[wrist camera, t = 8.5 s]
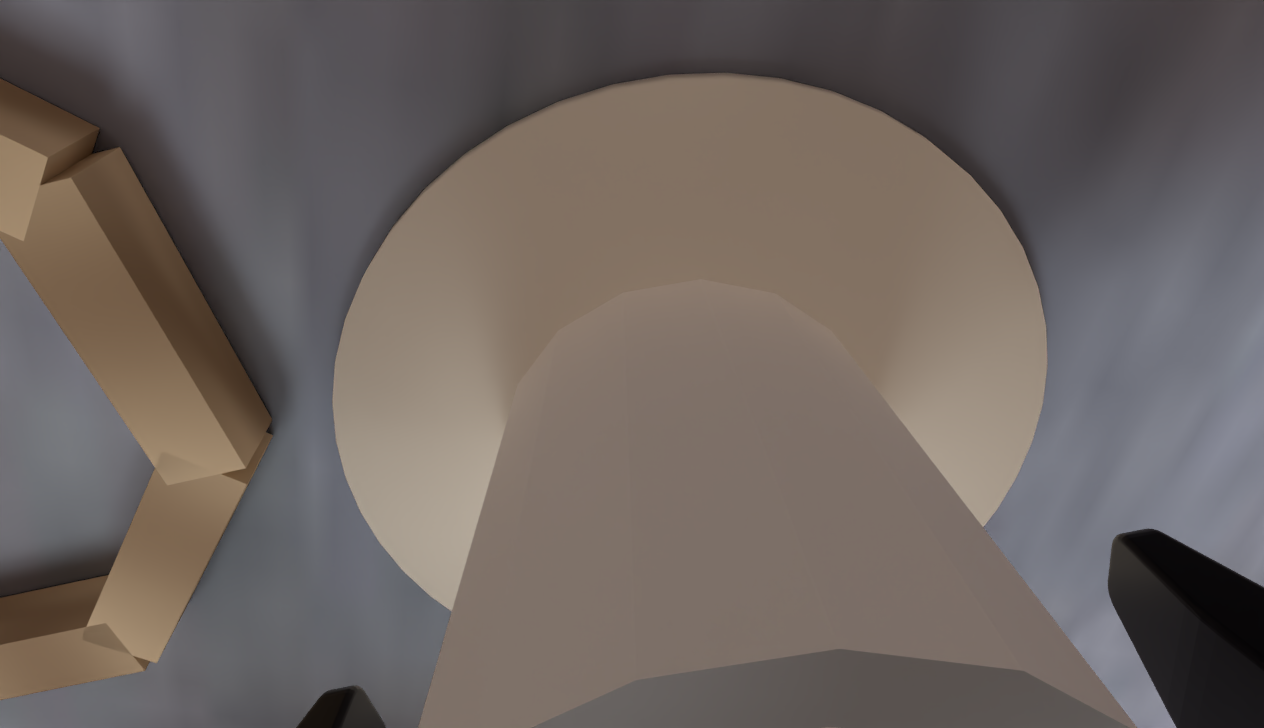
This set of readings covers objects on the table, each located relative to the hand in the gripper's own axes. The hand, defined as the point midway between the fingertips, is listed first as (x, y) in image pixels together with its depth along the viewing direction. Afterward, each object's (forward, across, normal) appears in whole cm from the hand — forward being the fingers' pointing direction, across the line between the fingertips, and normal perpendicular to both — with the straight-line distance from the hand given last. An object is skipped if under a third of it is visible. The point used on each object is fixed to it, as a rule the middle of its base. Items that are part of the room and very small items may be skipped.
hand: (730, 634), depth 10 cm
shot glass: (+4, 0, 0) cm, 4 cm away
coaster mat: (+4, 0, 0) cm, 4 cm away
